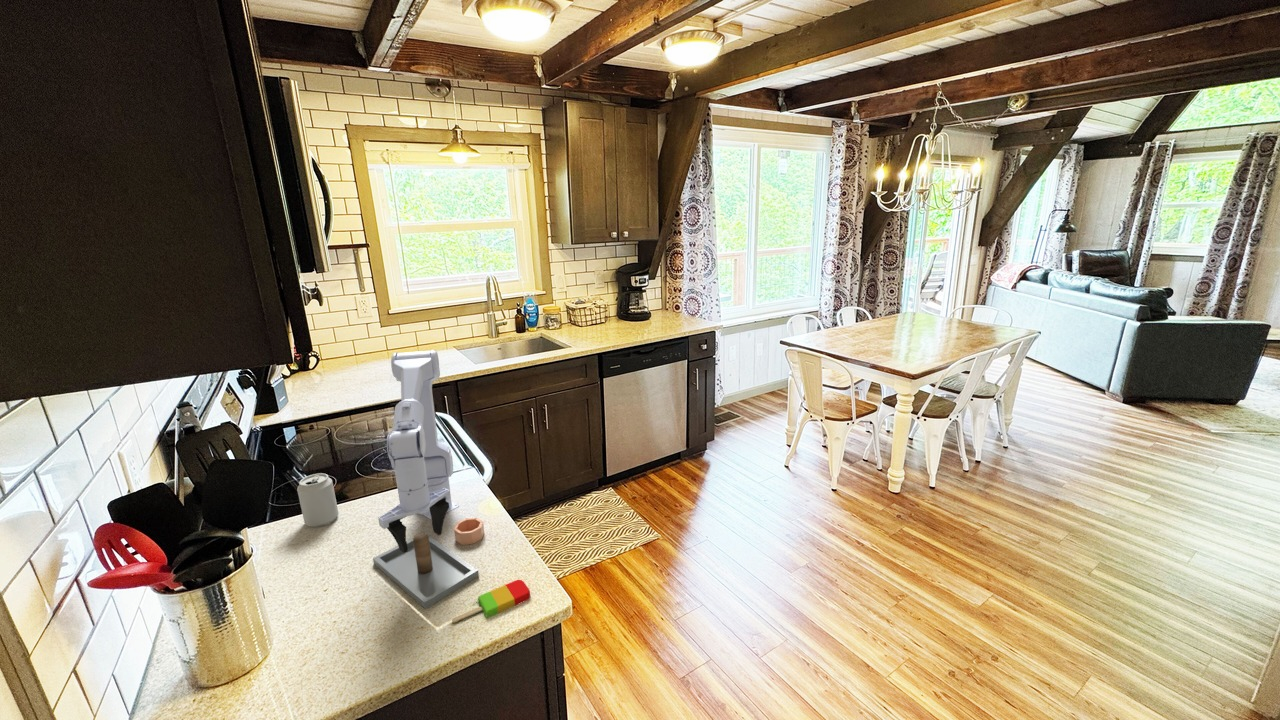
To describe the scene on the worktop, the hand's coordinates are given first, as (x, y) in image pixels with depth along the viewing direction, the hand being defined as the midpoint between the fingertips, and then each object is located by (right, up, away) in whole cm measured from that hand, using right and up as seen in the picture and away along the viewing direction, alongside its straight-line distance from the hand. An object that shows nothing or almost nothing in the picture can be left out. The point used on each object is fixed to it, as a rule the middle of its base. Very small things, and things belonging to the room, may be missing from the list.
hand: (421, 541), depth 107 cm
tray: (0, -7, +2) cm, 8 cm away
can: (-35, -3, +22) cm, 41 cm away
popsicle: (+17, -10, -8) cm, 22 cm away
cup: (+6, -4, +13) cm, 15 cm away
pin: (0, -7, +2) cm, 7 cm away
